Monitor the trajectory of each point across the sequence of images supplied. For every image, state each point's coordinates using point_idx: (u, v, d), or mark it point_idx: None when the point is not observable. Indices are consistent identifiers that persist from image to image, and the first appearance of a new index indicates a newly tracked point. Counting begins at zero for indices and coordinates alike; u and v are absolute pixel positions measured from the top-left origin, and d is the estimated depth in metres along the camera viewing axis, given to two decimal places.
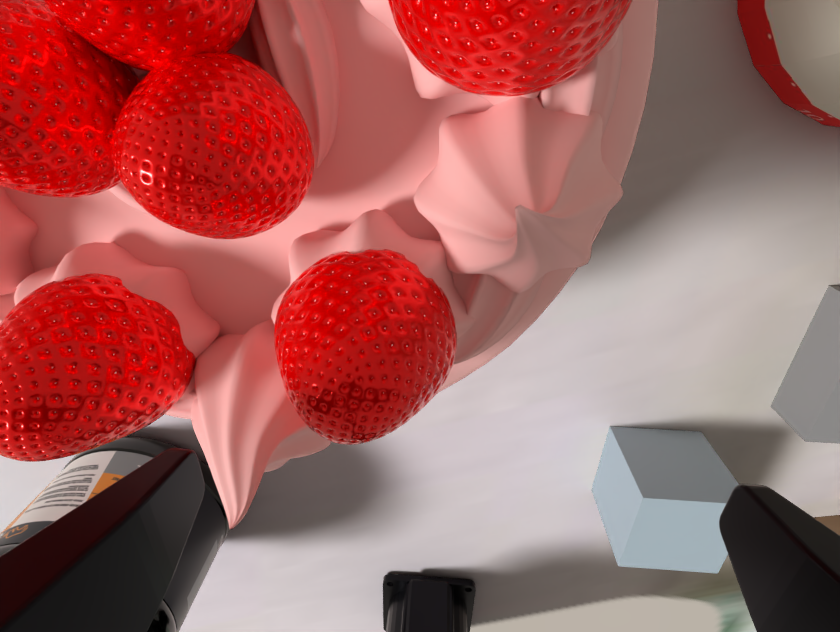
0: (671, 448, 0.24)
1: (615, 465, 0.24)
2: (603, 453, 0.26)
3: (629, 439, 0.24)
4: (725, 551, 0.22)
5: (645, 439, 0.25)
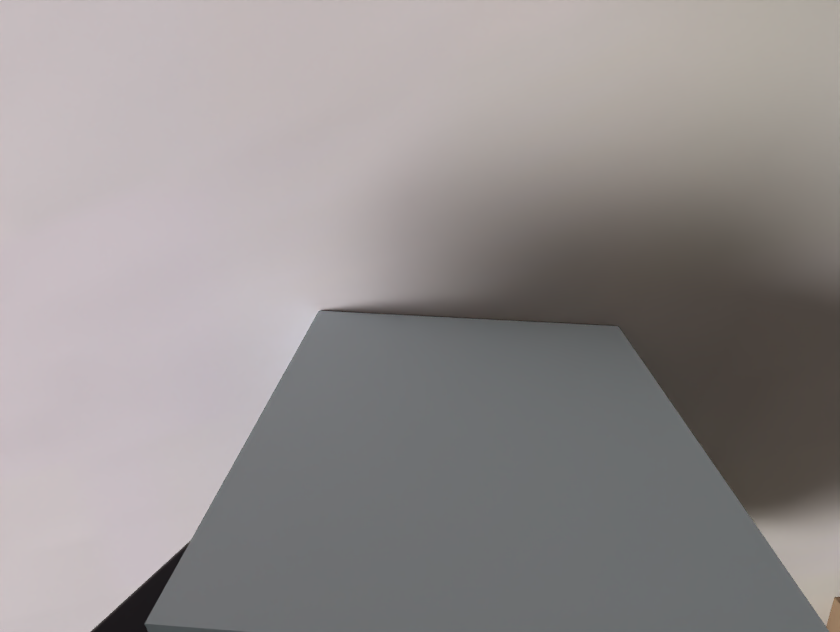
0: (490, 373, 0.06)
1: None
2: None
3: (350, 345, 0.07)
4: None
5: (409, 346, 0.07)
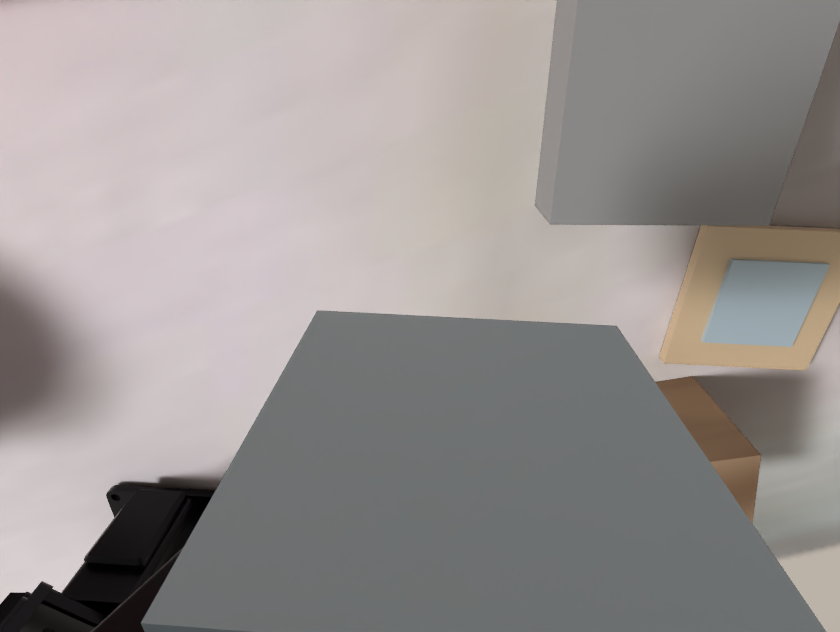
0: (488, 372, 0.06)
1: None
2: None
3: (348, 345, 0.07)
4: None
5: (407, 346, 0.07)
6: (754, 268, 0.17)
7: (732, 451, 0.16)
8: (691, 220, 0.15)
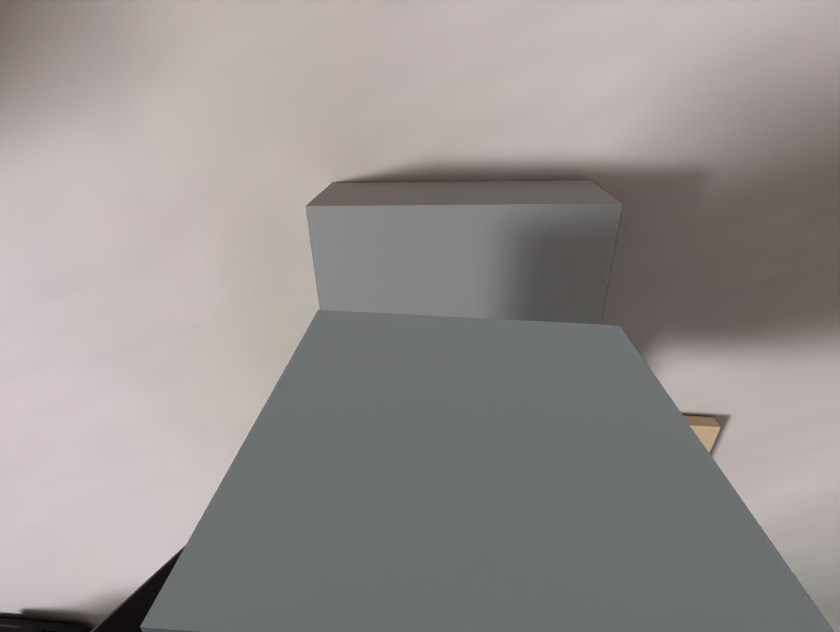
0: (490, 372, 0.06)
1: None
2: None
3: (350, 345, 0.07)
4: None
5: (409, 345, 0.07)
6: None
7: None
8: None
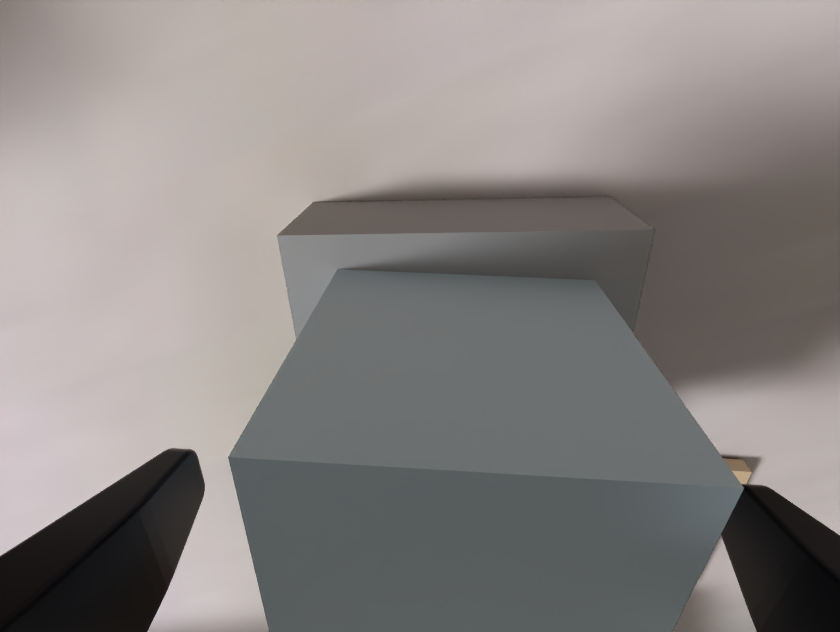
0: (483, 312, 0.07)
1: None
2: None
3: (366, 293, 0.08)
4: None
5: (416, 294, 0.08)
6: None
7: None
8: None
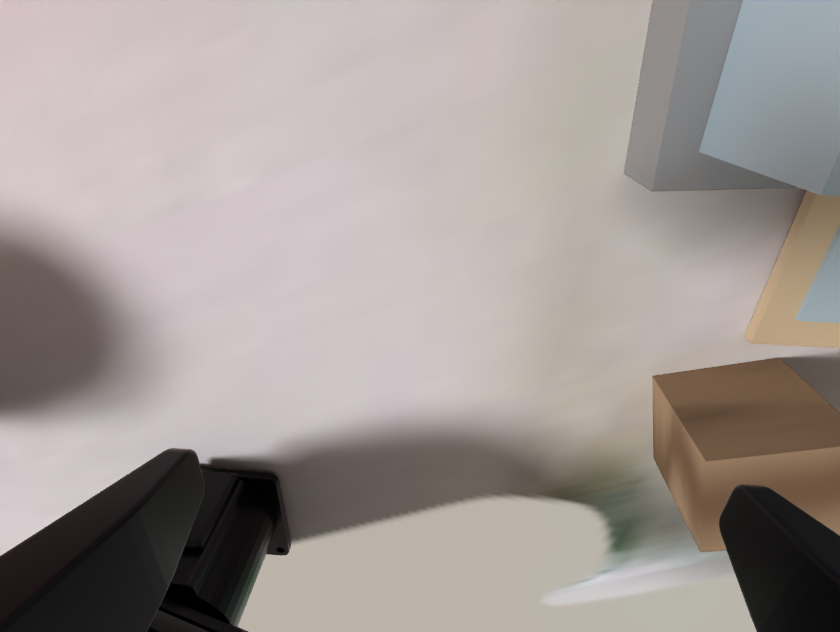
0: None
1: None
2: (741, 21, 0.11)
3: None
4: None
5: None
6: None
7: (838, 438, 0.15)
8: None
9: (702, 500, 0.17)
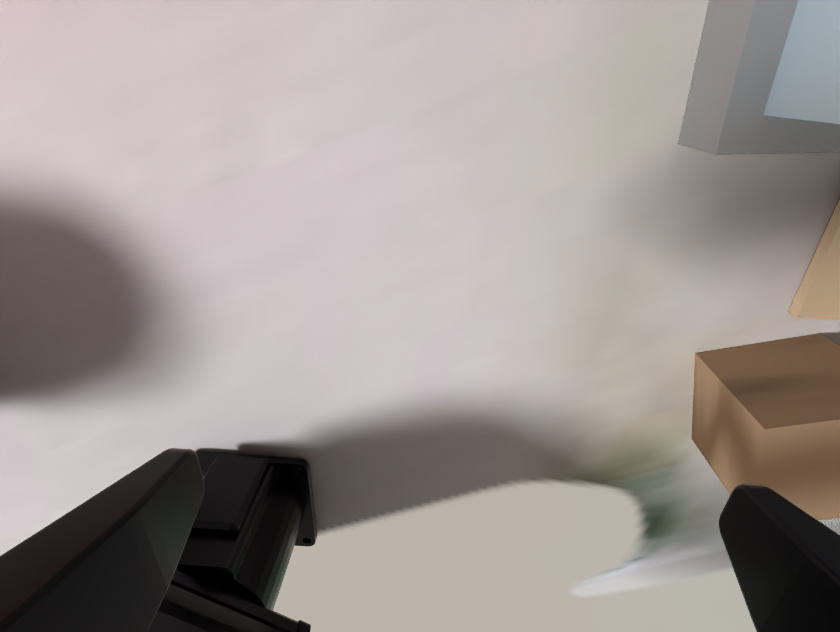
0: None
1: None
2: None
3: None
4: None
5: None
6: None
7: None
8: None
9: (757, 471, 0.17)
